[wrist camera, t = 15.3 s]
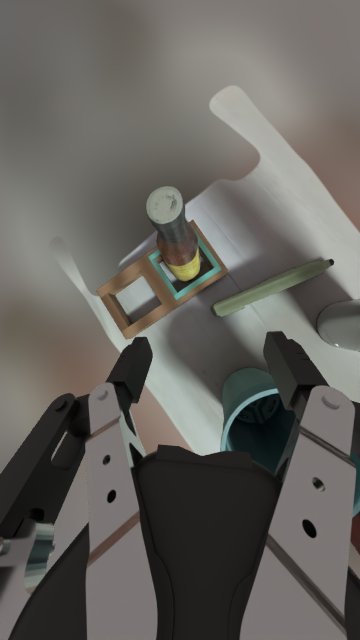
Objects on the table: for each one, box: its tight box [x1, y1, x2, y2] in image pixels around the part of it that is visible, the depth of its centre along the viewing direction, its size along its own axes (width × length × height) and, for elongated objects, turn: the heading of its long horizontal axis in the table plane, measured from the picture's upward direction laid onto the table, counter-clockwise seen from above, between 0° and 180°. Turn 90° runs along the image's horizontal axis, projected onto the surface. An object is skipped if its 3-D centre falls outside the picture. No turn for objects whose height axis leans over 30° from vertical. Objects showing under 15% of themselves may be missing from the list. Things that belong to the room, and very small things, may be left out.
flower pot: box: [220, 368, 360, 518], centre depth 26 cm, size 16×16×16 cm
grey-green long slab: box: [211, 259, 334, 317], centre depth 30 cm, size 7×3×25 cm
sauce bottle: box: [146, 186, 200, 282], centre depth 26 cm, size 7×6×20 cm
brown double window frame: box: [96, 220, 228, 339], centre depth 35 cm, size 26×13×3 cm, turn 123°
